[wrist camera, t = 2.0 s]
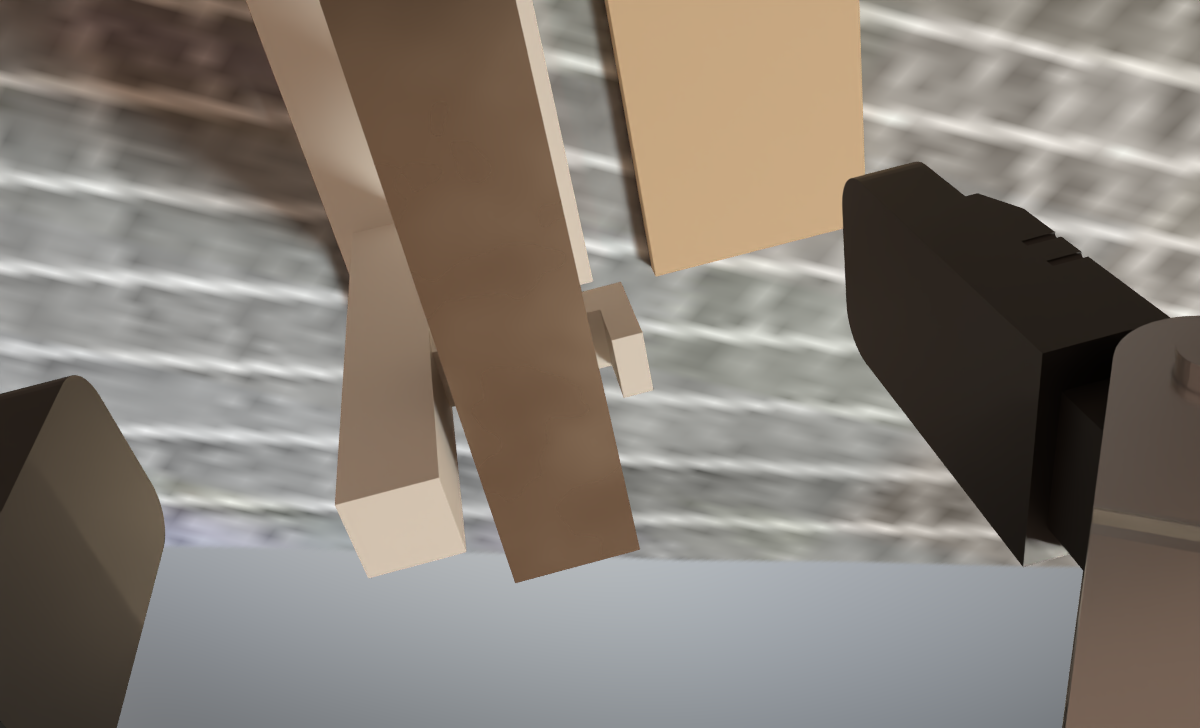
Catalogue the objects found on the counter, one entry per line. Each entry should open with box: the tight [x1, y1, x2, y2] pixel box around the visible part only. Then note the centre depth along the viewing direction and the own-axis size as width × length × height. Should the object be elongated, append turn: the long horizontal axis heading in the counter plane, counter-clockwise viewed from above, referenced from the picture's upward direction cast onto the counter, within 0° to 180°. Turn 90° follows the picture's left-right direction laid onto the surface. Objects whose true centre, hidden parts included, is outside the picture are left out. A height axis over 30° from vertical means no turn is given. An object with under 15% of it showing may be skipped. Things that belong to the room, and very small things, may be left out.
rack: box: [246, 0, 653, 578], centre depth 20 cm, size 7×19×13 cm, turn 10°
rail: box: [319, 0, 640, 583], centre depth 18 cm, size 3×22×3 cm, turn 11°
